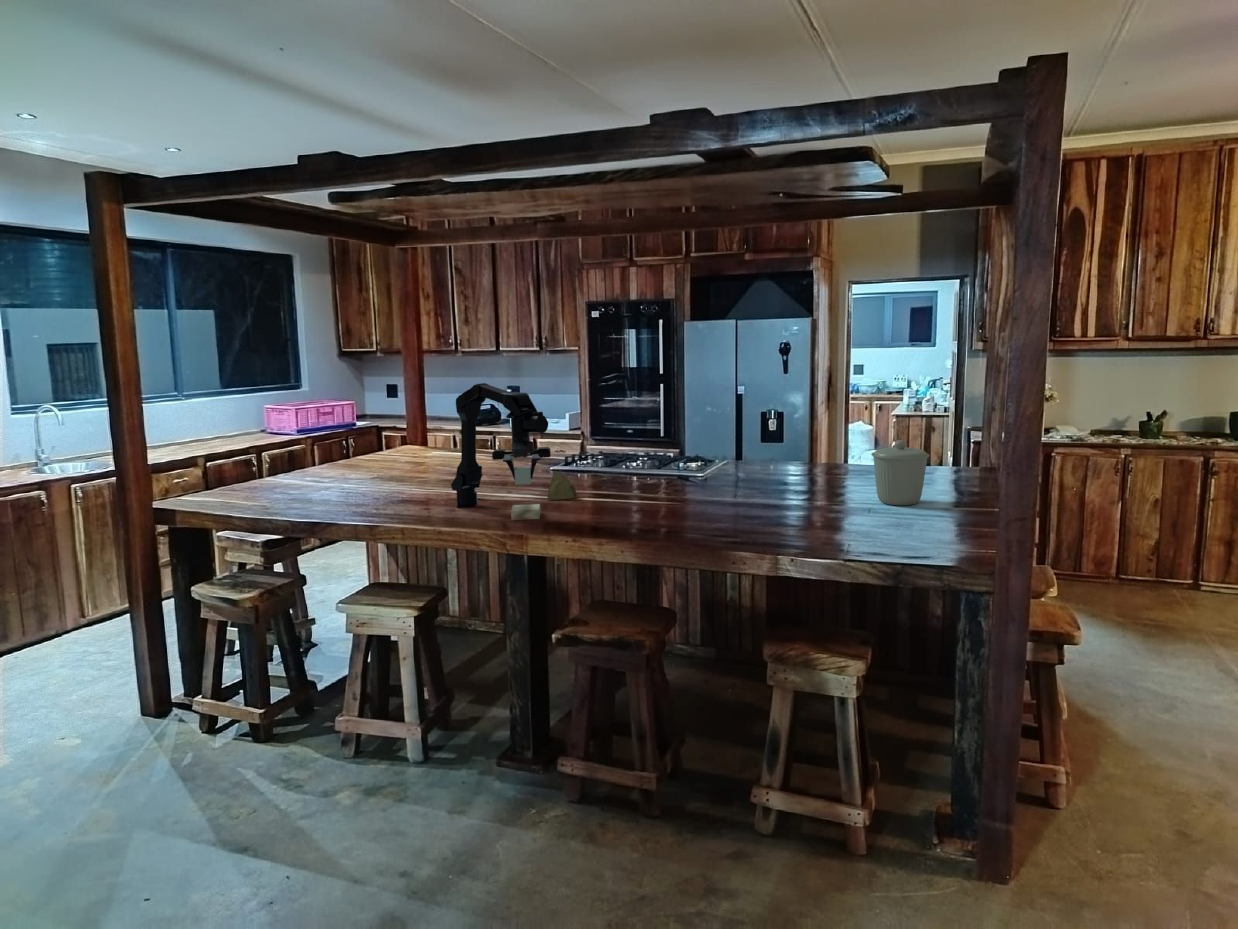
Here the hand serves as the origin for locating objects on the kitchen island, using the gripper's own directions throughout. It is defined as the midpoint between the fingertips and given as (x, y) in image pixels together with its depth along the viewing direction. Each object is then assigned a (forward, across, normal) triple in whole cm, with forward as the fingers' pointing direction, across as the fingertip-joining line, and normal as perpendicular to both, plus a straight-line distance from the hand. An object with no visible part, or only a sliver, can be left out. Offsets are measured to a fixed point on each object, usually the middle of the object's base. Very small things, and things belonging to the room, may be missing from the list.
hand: (523, 479), depth 265 cm
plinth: (+12, 0, 0) cm, 12 cm away
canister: (+14, +124, -4) cm, 125 cm away
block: (+1, 0, 0) cm, 1 cm away
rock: (+12, +12, +27) cm, 32 cm away
